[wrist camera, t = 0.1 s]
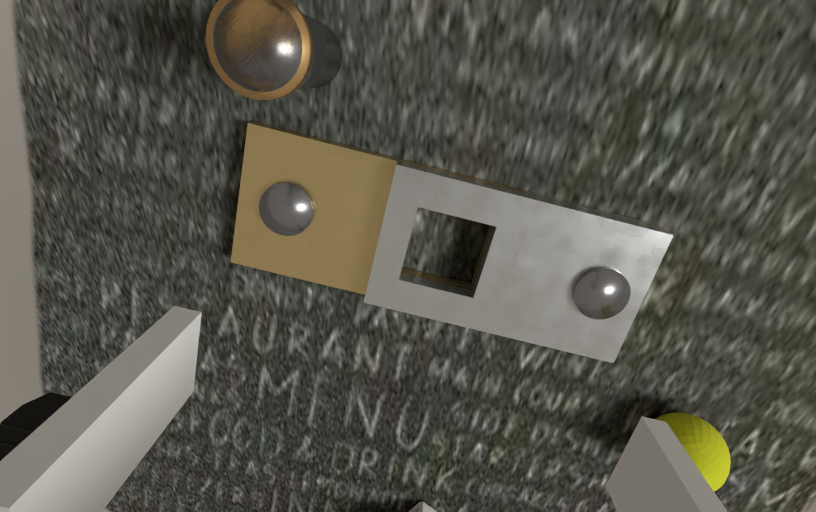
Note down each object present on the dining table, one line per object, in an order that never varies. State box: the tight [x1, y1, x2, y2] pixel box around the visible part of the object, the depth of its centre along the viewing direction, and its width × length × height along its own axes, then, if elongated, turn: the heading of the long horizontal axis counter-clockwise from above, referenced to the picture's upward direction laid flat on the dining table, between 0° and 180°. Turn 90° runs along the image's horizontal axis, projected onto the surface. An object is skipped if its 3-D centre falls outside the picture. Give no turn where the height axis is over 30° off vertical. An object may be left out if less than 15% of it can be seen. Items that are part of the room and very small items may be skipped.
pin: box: [206, 0, 342, 100], centre depth 31 cm, size 6×6×12 cm
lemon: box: [655, 413, 731, 491], centre depth 43 cm, size 7×7×10 cm
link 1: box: [231, 121, 533, 295], centre depth 40 cm, size 12×23×2 cm, turn 76°
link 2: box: [364, 161, 673, 363], centre depth 40 cm, size 12×22×4 cm, turn 76°
